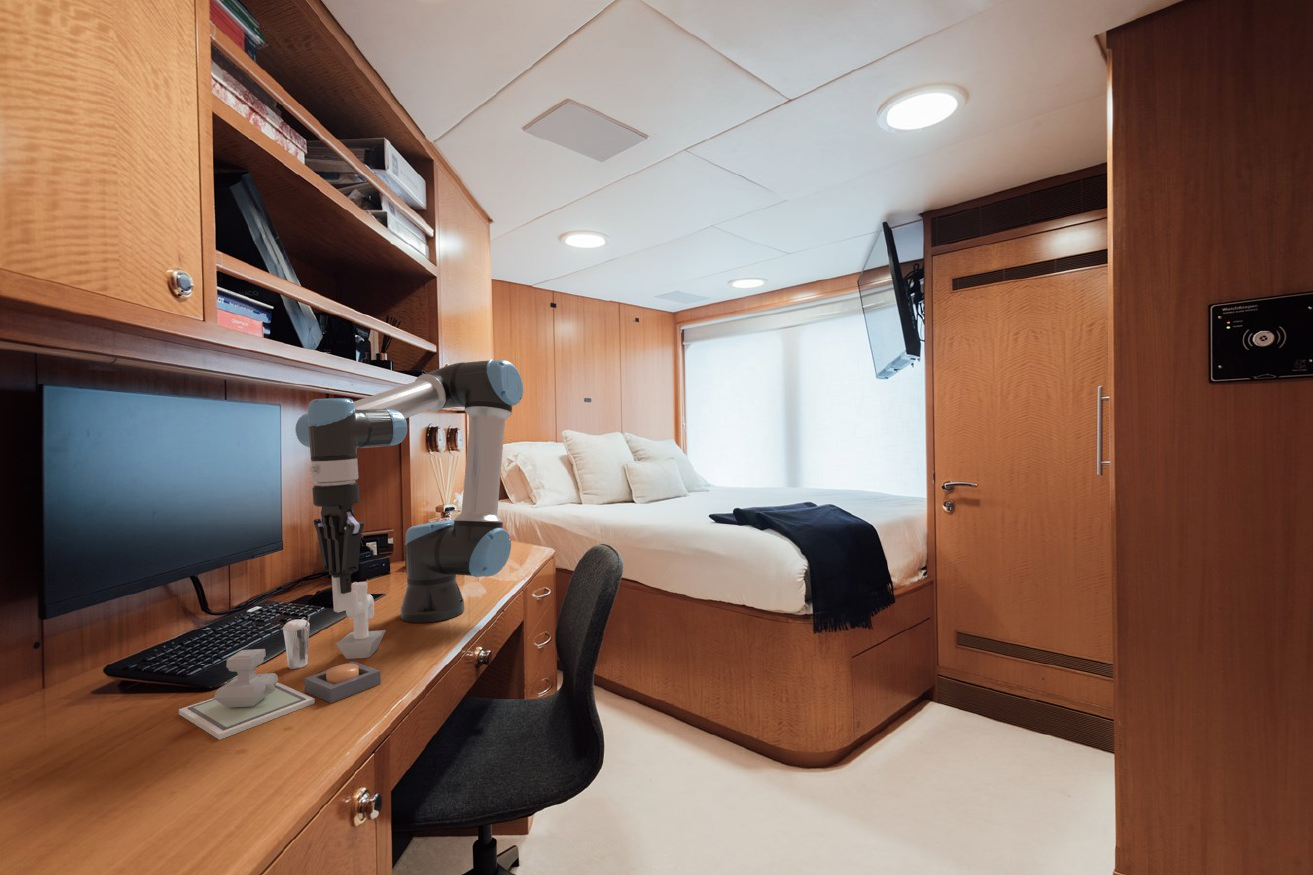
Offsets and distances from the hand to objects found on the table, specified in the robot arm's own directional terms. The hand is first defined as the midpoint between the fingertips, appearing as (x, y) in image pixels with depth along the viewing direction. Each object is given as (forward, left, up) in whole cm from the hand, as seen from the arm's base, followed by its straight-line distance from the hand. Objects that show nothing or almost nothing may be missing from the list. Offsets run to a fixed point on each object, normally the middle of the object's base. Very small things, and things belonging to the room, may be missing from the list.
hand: (343, 609), depth 111 cm
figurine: (-9, -11, -14) cm, 20 cm away
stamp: (+15, -4, -13) cm, 20 cm away
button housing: (+2, +2, -14) cm, 14 cm away
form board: (+15, -4, -14) cm, 20 cm away
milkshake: (+1, -16, -14) cm, 21 cm away
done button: (+2, +2, -13) cm, 13 cm away
